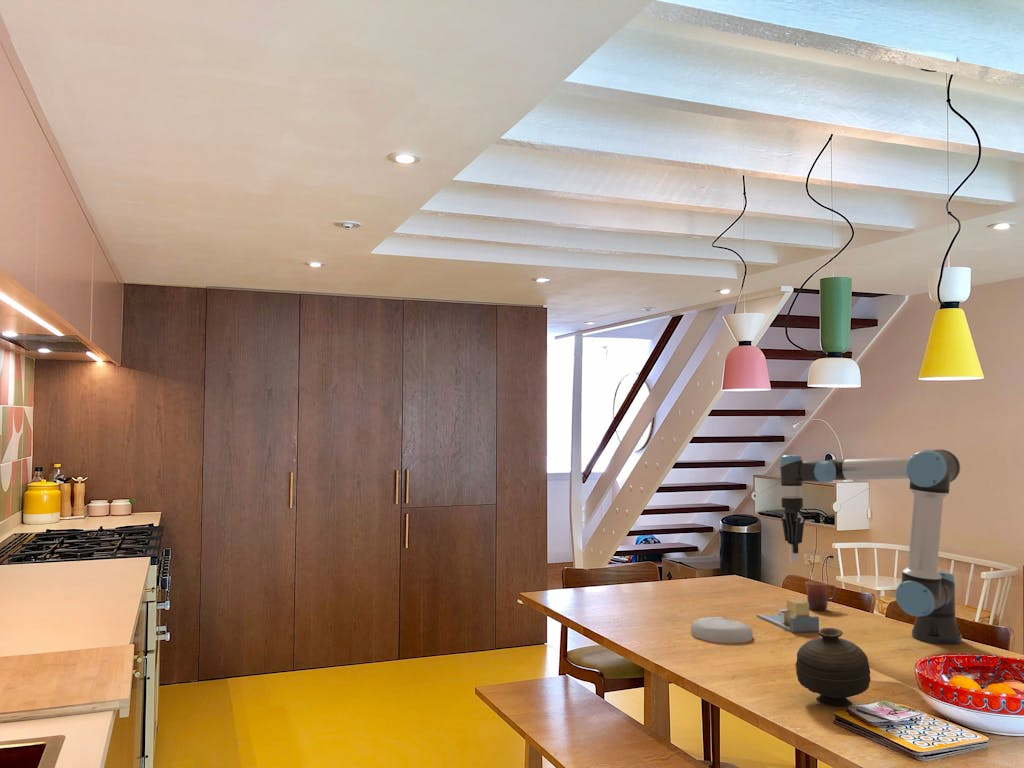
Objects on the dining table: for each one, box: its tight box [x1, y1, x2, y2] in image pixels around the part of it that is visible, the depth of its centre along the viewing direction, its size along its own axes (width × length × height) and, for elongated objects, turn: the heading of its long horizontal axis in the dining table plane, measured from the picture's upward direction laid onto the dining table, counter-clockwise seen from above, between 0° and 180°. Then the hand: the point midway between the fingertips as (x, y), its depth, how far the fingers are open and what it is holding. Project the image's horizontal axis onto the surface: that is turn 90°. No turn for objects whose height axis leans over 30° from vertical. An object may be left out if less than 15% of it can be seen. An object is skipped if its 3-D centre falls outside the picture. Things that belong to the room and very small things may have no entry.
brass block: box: [786, 598, 810, 627], centre depth 292 cm, size 6×5×9 cm
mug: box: [804, 580, 838, 612], centre depth 327 cm, size 12×9×10 cm
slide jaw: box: [778, 608, 787, 625], centre depth 295 cm, size 2×9×5 cm, turn 102°
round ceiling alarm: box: [690, 616, 754, 644], centre depth 281 cm, size 25×25×6 cm
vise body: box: [756, 612, 820, 633], centre depth 299 cm, size 25×10×6 cm, turn 12°
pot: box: [794, 627, 871, 708], centre depth 212 cm, size 18×18×20 cm
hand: (794, 561), depth 304 cm, fingers closed
